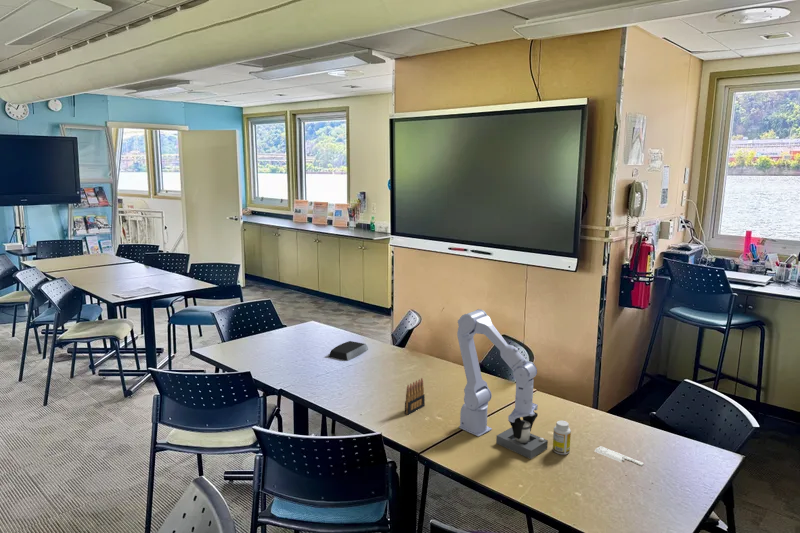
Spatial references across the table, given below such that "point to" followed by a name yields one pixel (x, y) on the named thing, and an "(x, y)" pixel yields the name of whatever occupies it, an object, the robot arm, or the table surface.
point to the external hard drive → (348, 350)
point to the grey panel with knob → (522, 444)
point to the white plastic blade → (615, 455)
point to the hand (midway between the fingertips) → (522, 435)
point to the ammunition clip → (414, 397)
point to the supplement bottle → (561, 437)
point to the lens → (524, 433)
